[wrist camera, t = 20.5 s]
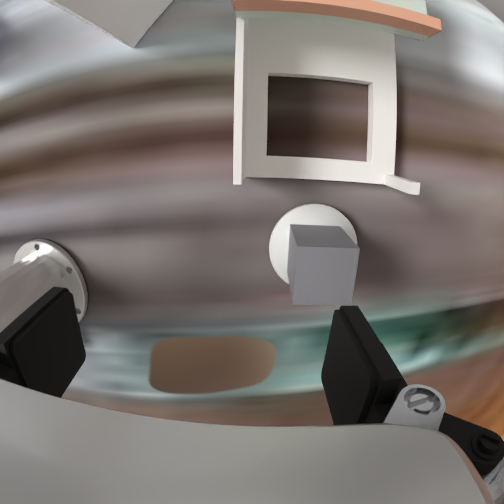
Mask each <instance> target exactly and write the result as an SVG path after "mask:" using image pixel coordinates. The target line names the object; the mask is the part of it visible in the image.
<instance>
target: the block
mask: <svg viewBox="0 0 504 504" xmlns="http://www.w3.org/2000/svg"><path fill="white" fill-rule="evenodd" d="M359 251H360V248H359V247H358V246H357V245H356V244H355V243H354V241H353V240H352V239H351V238H350V237H349V236H348V235H347V233H346V232H345V231H344V230H343V229H342V228H341V227H340V226H324V225H302V224H290V233H289V249H288V264H287V275H288V281H289V287H290V292H291V298H292V304H293V305H351V303H352V297H353V291H354V285H355V279H356V272H357V265H358V258H359Z"/></svg>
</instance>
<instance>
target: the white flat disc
mask: <svg viewBox="0 0 504 504" xmlns="http://www.w3.org/2000/svg"><path fill="white" fill-rule="evenodd" d="M290 224H302V225H324V226H340V227H341V228H342V229H343V230H344V231H345V232H346V233H347V235H348V236H349V237H350V238H351V239H352V240H353V241H354V243H355V244H356V245H357V237H356V233H355V231H354V228H353V226H352V225H351V223H350V222H349V220H348V219H347V218H346V217H345V216H344V215H343V214H342V213H341V212H339V211H338V210H337V209H335V208H333V207H331V206H328V205H325V204H320V203H308V204H303V205H299V206H297V207H294V208H292V209H291V210H289V211H288V212H286V213H285V214H284V215H283V216H282V217H281V218H280V219H279V220H278V222H277V223H276V224H275V226H274V228H273V230H272V233H271V236H270V242H269V254H270V259H271V263H272V265H273V267H274V269H275V271H276V272H277V274H278V275H279V276H280V277H281V278H282V279H283V280H284V281H285V282H287V283H288V284H289V281H288V275H287V264H288V249H289V233H290Z"/></svg>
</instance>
